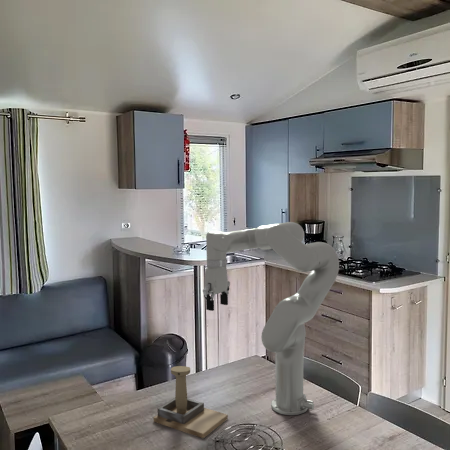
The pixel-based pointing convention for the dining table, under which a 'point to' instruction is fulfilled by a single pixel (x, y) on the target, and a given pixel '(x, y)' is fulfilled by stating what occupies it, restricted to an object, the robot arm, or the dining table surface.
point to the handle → (181, 387)
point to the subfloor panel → (190, 418)
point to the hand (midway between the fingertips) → (217, 307)
